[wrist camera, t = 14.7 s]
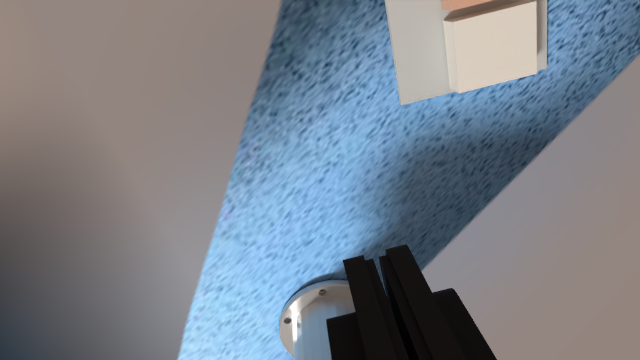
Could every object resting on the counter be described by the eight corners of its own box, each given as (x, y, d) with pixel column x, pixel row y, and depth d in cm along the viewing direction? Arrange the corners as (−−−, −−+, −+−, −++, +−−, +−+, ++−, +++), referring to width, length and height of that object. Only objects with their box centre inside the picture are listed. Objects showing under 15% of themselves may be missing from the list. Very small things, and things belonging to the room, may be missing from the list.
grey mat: (544, 67, 38) (546, 68, 38) (400, 104, 39) (401, 105, 38) (544, -107, 33) (547, -108, 32) (375, -63, 33) (376, -64, 32)
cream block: (448, 87, 38) (521, 69, 38) (459, 93, 36) (536, 73, 36) (442, 20, 35) (520, 0, 35) (453, 22, 33) (536, 0, 33)
